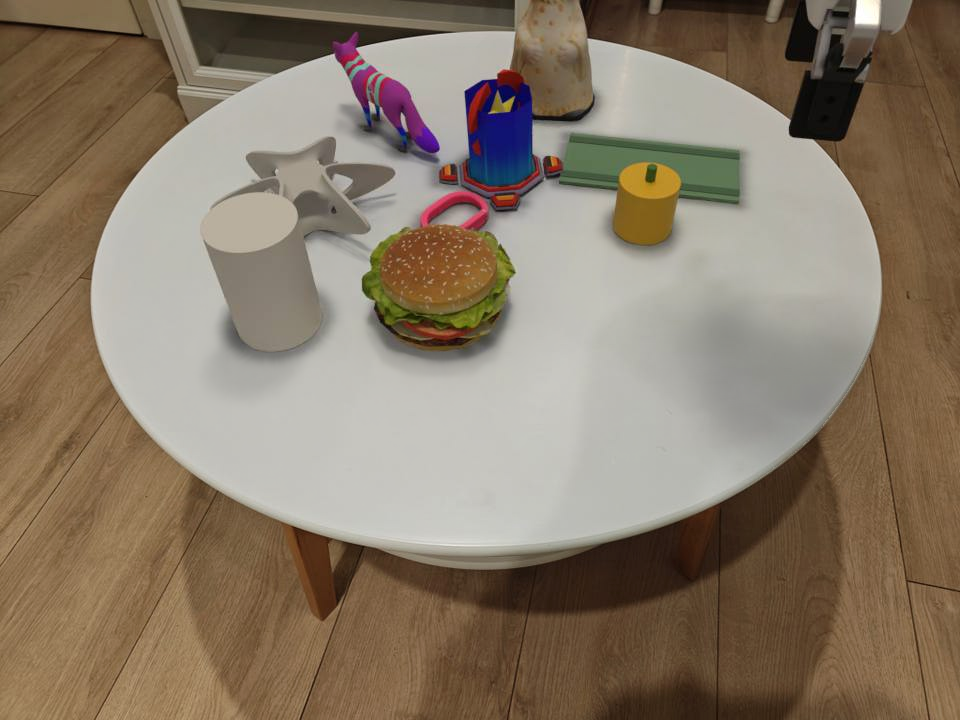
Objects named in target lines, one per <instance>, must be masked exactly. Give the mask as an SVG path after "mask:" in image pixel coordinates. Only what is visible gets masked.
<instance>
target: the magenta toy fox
mask: <svg viewBox="0 0 960 720" xmlns="http://www.w3.org/2000/svg"><path fill="white" fill-rule="evenodd" d="M358 41H359V33H358V31H355V32H353V34H352V36H351V37H350V38H349V40H348V41H346V42H343V43H340V42H338V41H333V42H332V46H333V50H334V59H335V60H336V62H338V63H339V64H340V65H341V67H342V68H343V71H344V72H345V74H346V76H347V78H348V80H349V82H350V84H351V89H352V91H353V93H354V96H355V98H356V99H357V101H358V102H359V104H360V106H361V109H362V111H363V113H364V116H365V119H366V124H365V125H363V130H364V131H367V132H370V131H372V130H373V124H372V119H373V120H377V121H379V120H380V119H381V110H382V112H383V115H384V116H385V118H386V119H387V121H388V122H389V123H390V124H391V125H392V126H393V127H394V128H395V129H396V131H397V133H398V134H399V136H400V139H401V142H402V144H399V145H397V148H396V149H397V150H398V151H399V152H405V151H407V150H408V139H407V138H411V139H412V141H413V142H414V144H416V145H417V147H418V148H420V149H421V150H422V151H424V152H426V153H428V154H436V153H438V152H440V149H441V147H440V143H439V141H438V139H437V137H436V136H435V135H434V133H433V132H432V131H431V129H430V128H429V127H428V126H427V125H426V123H425V122H424V120H423V119H422V117H421V114H420V112H419V111H418V108H417V107H416V105H415V103H414V101H413V99H412V95H411V93H410V90H409V89H408V88H407V87H406V86H405V85H404V84H402V83H401V82H400V81H399V80H396V79H393V78H391V77H389V76H388V75H386V74H384V73H382V72H380V71H378V70H377V68H375V67H374V66H373V65H372V64H370V63H368V62H367V61H365V59H364V58H363V57H362V55H361V54H360V52H359V51H358V50H357V45H358V43H359V42H358ZM370 103H371V104H373V105H374V108H375V113H373V114H371V106H370ZM402 116H404V122H405V126H406V129H407V131H406V130H405V129H404V126H403V123H402Z"/></svg>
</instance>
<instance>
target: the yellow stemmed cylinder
mask: <svg viewBox="0 0 960 720" xmlns="http://www.w3.org/2000/svg"><path fill="white" fill-rule="evenodd" d="M680 187H681V180H680V177H679V176H678V174H677V173H676V172H675V171H674V170H672V169H670V168H669V167H667V166H664V165H661V164H657V163H637V164H633V165H630V166H628V167H627V168H625V169H624V170H623V171H622V172H621V174H620V177H619V183H618V190H616V198H615V204H614V205H615V206H614V213H613V219H612V220H613V221H612V228H613V230H614V232H615V234H616V235H617V236H618V237H619V238H621V239H622V240H624V241H626V242H628V243H630V244H634V245H639V246H652V245H657V244H659V243H662V242H664V241H665V240H667V238H669V236H670V235H671V233H672V228H673V224H674V219H675V214H676V211H677V206H678V200H679V197H678V196H679V191H680Z"/></svg>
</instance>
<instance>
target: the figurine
mask: <svg viewBox="0 0 960 720" xmlns="http://www.w3.org/2000/svg"><path fill="white" fill-rule="evenodd" d="M514 34H515V35H514V41H513V50H512V51H513V52H512V57H511V61H510V65H509V70H512V71H515V72H518V73H519V74H520V75H521V76H522V77H523V78H524V83H525V84H526V85H529V86H530V91H531V96H532V120H541V121H543V120H544V121H560V122H576V121H580V120H582V119H583V118H584V117H586V115H587V114H588V113H589V112H591V110H592V109H593V107H594V106H595V99H596V97H595V96H596V95H595V94H594V90H593V89H594V88H593V81H592V80H593V78H592V77H593V76H592V73H593V72H592V63H591V56H590V51H589V49H590V48H589V40H588V31H587V25H586V22H585V18H584V14H583V11H582V8H581V4H580V1H579V0H529V2H528V4H527V6H526V7H525V9H524V11H523V14H522V15H521V18H520V19H519V21H518V24H517V26H516V29H515V33H514Z"/></svg>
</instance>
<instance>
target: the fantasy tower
mask: <svg viewBox="0 0 960 720" xmlns="http://www.w3.org/2000/svg"><path fill="white" fill-rule="evenodd" d="M463 92H464V93H463V94H464V102H465V103H464V104H465V118H466V130H467V144H468V145H467V146H468V158H467V159H465V160H464V161H463V162H461V163H460V164H459V176H460V186H462V187H465V188H467V189H469V190H471V191H473V192H474V193H477V194H479V195H481V196H483V197H485V198H489V202H490V204H491V206H492V207H493V208H494V210H495V211H502V210H515V209H518V207H519V204H520V202H521V195H523V194H525V193H526V192H527V191H529V190H530V189H531V188H533V187H534V186H536V184H538V183H539V182H541V181H542V180H543V179H544V172H543V168H542V162H543V167H544V171H545V176H546V177H552V176H555V175H558V174H559V175H560V174H561V173H562V172H564V169H563V160H562V159H560V158H559V157H557V156H552V155H545V156H544V157H543V158H542V162H541V158H540V157H538V156H537V155H536V154H534V153H533V149H534V148H533V147H534V145H533V140H534V139H533V137H534V136H533V119H532V96H531V91H530V86H529V85H526V84H525V83H524V78H523V77H522V76H521V75H520V74H519V73H518V72H515V71H512V70H510V69H505V68H503V69H502V70H500V71H499V72H498V73H496V78H491V79H481V80H480V81H478V82H477V83H475V84H473V85H472V86H470V87H468V88H467V89H465V90H464V91H463ZM438 181H439V182H438V183H441V184H449V185H458V184H459V177H458V166H457V165H456V164H455V163H449V164H448V165H444V166H443V167H441V168H440V169H439V170H438Z"/></svg>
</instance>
